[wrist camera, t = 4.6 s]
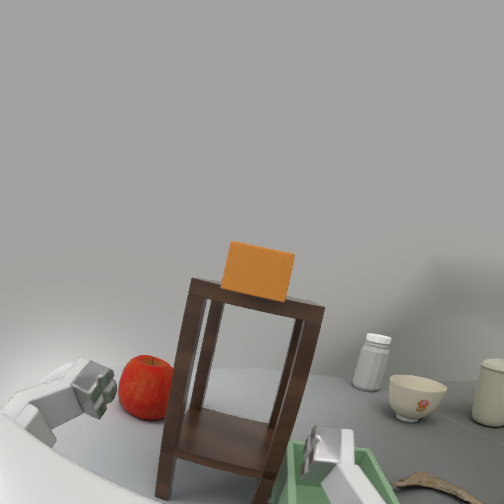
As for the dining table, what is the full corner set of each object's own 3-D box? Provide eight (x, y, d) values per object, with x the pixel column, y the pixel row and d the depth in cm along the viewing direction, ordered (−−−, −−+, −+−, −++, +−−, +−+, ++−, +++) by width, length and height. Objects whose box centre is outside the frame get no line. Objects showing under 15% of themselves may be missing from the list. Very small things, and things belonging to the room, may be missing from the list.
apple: (186, 414, 49) (195, 363, 50) (150, 432, 39) (158, 373, 40) (141, 392, 53) (149, 344, 54) (103, 403, 43) (109, 348, 44)
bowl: (434, 415, 64) (446, 382, 65) (434, 434, 51) (448, 395, 52) (384, 403, 73) (394, 371, 74) (373, 420, 60) (386, 382, 61)
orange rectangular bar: (284, 302, 18) (295, 253, 18) (219, 288, 19) (230, 240, 19) (279, 294, 38) (284, 271, 38) (247, 287, 38) (253, 264, 39)
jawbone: (400, 472, 36) (405, 462, 37) (498, 494, 23) (503, 484, 23) (387, 492, 30) (392, 481, 30) (500, 518, 16) (508, 507, 16)
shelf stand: (258, 524, 23) (325, 307, 26) (154, 496, 24) (191, 277, 27) (264, 472, 35) (311, 301, 38) (183, 452, 36) (217, 280, 39)
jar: (346, 382, 92) (360, 331, 94) (370, 384, 93) (384, 334, 95) (359, 392, 83) (374, 336, 84) (384, 393, 84) (399, 340, 85)
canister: (453, 412, 65) (473, 344, 67) (493, 411, 62) (512, 348, 64) (481, 434, 47) (508, 353, 49) (523, 429, 44) (547, 356, 46)
